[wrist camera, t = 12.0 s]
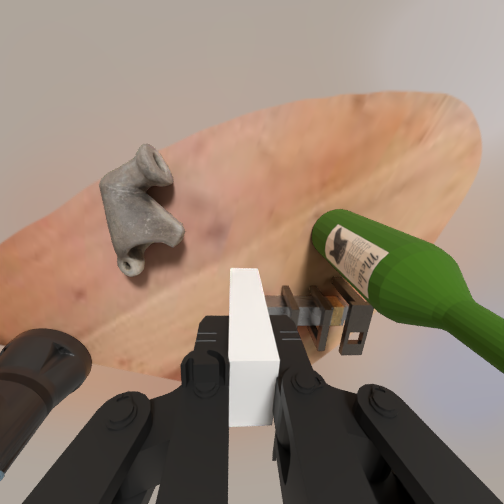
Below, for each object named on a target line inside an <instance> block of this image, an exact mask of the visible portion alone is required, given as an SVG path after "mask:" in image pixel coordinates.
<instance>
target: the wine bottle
mask: <svg viewBox="0 0 504 504" xmlns="http://www.w3.org/2000/svg"><path fill="white" fill-rule="evenodd" d="M312 241H313V245H314V247H315V249H316V250H317V251H318V252H319V253H320V254H321V255H322V256H323V257H324V258H325V259H326V260H327V261H328V262H329V263H330V264H331V265H332V266H333V267H334V268H335V269H336V270H337V271H338V272H339V273H340V274H341V275H342V276H343V277H344V278H345V279H346V280H347V281H348V282H349V283H350V284H351V285H352V286H353V287H354V288H355V289H356V290H357V291H358V292H359V293H360V294H361V295H362V296H363V298H364V299H365V300H366V301H367V302H368V303H369V304H370V305H371V306H372V307H373V308H374V309H376V310H377V311H378V312H379V313H380V314H382V315H384V316H385V317H387V318H389V319H391V320H393V321H395V322H397V323H404V324H410V325H417V326H424V327H431V328H438V329H443V330H445V331H447V332H449V333H450V334H451V335H453V336H454V337H455V338H457V339H458V340H459V341H461V342H462V343H463V344H465V345H466V346H467V347H469V348H470V349H471V350H473V351H474V352H475V353H477V354H478V355H479V356H481V357H482V358H484V359H485V360H486V361H487V362H489V363H490V364H491V365H493V366H494V367H496V368H497V369H498V370H499V371H501V372H502V373H504V319H503V318H501V317H500V316H498V315H496V314H495V313H493V312H491V311H490V310H488V309H486V308H484V307H483V306H481V305H479V304H478V303H476V302H475V301H474V300H473V298H472V296H471V294H470V291H469V290H468V287H467V285H466V282H465V280H464V278H463V276H462V273H461V271H460V269H459V266H458V264H457V263H456V262H455V260H454V259H453V258H452V257H451V256H450V255H448V254H447V253H446V252H445V251H443V250H442V249H440V248H439V247H437V246H435V245H434V244H431V243H429V242H426V241H424V240H421V239H419V238H416V237H414V236H411V235H409V234H406V233H404V232H401V231H398V230H396V229H393V228H391V227H388V226H386V225H383V224H381V223H378V222H376V221H373V220H371V219H368V218H366V217H363V216H360V215H358V214H355V213H353V212H350V211H348V210H343V209H335V210H332V211H329V212H327V213H325V214H324V215H322V216H321V217H320V218H319V219H318V220H317V222H316V223H315V225H314V227H313V230H312Z"/></svg>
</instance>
